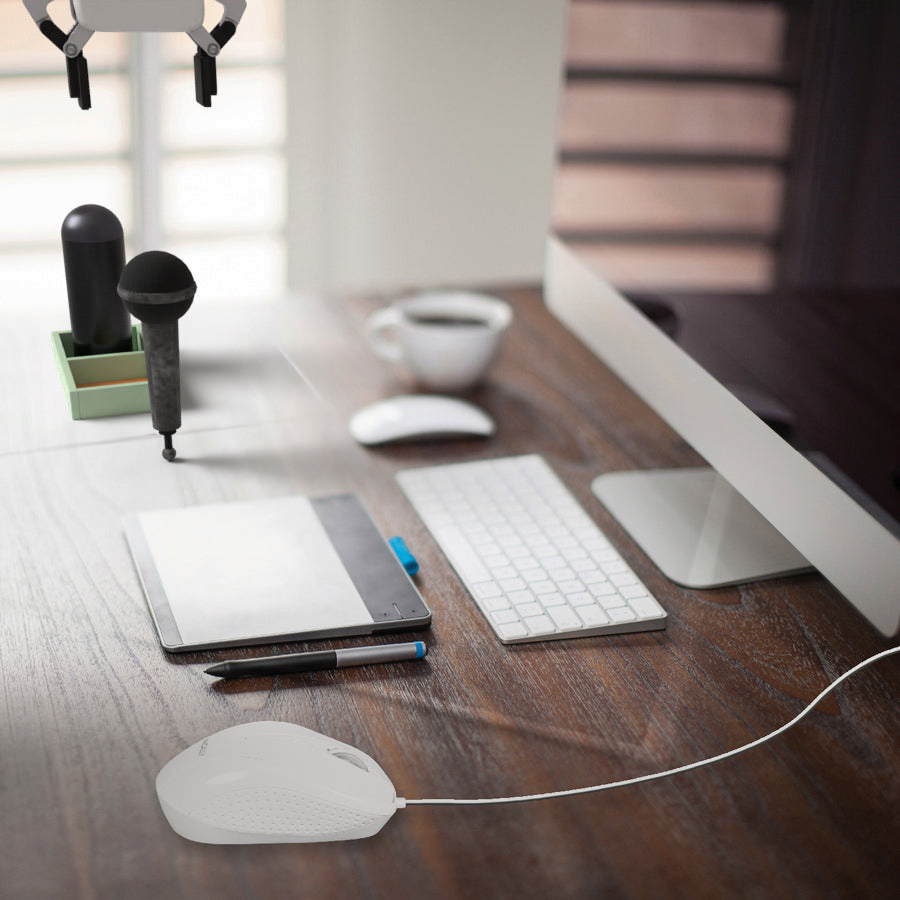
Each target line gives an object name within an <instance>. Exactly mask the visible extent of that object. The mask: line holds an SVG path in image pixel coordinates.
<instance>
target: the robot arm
mask: <svg viewBox="0 0 900 900" xmlns="http://www.w3.org/2000/svg"><path fill="white" fill-rule="evenodd" d="M21 1H22V4H23V6H24V8H25V10H26V11H27V12H28V14H29V16H30V17H31V19H32V20H33V22H34V23H35V25H36V27H37V28H38V30H39V31H40V33H41V34H42V35H43V36H44V37H45V38H46V39H48V41H50V42H51V43H52V44H53V45H54V46H55V47H56V48H57V49H59V51H61V53H63V54H64V56H65V63H66V64H65V65H66V74H67V87H68V92H69V93H68V94H69V98H70V99H77V104H78V107H79V108H80V109H81V110H82V111H89V110H90V109H92V99H91V97H92V96H91V88H90V86H91V85H90V76H89V67H88V60H87V59H88V58H86V57H85V56H84V51H83V50H84V47H85V46H86V44H88V42H89V40H91V38H92V36H93V35H94V34H95V32H97V33H98V32H99V33H185V34H186V35H187V36H188V38H189V39H190V40H191V41H192V42H193V43H194V44H195V45H196V52H195V54H194V55H193V58H192V59H193V74H194V90H195V91H194V92H195V93H194V94H195V102H196V103H198V104H199V105H200V106H202V107H203V108H212V106H213V105H212V97H215V96H218V76H217V75H218V74H217V56H219V54H220V53H221V51H222V49H223V48H224V47H225V46H226V45H227V44H228V43H229V42H230V40H231V39H232V38H233V37H234V36H235V34H236V33H237V28H238V25H239V24H240V22H241V20H242V17H243V15H244V14H245V10H246V9H247V1H246V0H214V1H215V2H217V3H219V4H220V5H221V6H222V7H223V10H224V11H223V13H222V16H221V18H220V21H219V22H217V24H216V25H215V26H214V27H213V28H212V30H211V31H210V32H209V31H208V30H207V29H206V28H205V27H204V25H203V24H204V22H205V11H206V10H205V0H68V2H69V10H70V14H71V15H70V16H71V17H72V19H73V20H74V21H75V22H74V23H73V24H72V26H70V28H69V30H68V31H67V32H66V33H65V32H64V31H63V30H62V29H61V28H60V27H59V26H57V24H55V23H54V21H53V19H52V17H51V16H50V14H49V12H48V10H47V7H48V5H49V4H50V3H52V2H54V1H55V0H21Z"/></svg>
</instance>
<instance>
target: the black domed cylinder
mask: <svg viewBox="0 0 900 900" xmlns="http://www.w3.org/2000/svg"><path fill="white" fill-rule="evenodd" d="M60 228H61V229H60V238H61V247H62V258H63V266H64V275H65V284H66V294H67V303H68V312H69V313H68V314H69V323H70V330H71V332H72V342H73V351H74V357H82V356H93V355H103V354H114V353H124V352H134V350H133V338H132V326H131V325H132V316H131V315H132V314H131V313H130V312H128V310H127V309H126V307H125V306H124V304H123V302H122V299H121V297H120V296H119V294H118V292H117V286H118V284H119V281H120V277H121V273H122V271H123V269H124V267H125V266H126V265H127V256H126V255H127V254H126V245H125V232H124V228H123V224H122V222H121V220H120V219H119V217H118V216H117V215H116V214H115V213H114V212H113V211H112V210H111V209H109V208H108V207H106V206H103V205H100V204H96V203H85V204H81V205H79V206H76V207H74V208H73V209H71V211H69V212H68V213H67V215H66V216H65V217H64V219H63V221H62V224H61V227H60Z"/></svg>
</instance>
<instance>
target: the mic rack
mask: <svg viewBox="0 0 900 900" xmlns="http://www.w3.org/2000/svg"><path fill="white" fill-rule="evenodd" d="M131 326H132V338H133V350H134V352H124V353H114V354H103V355H93V356H82V357H74V351H73V342H72V332H71V329H68V330H58V331H57V330H56V331H51V332H50V337H51V344H52V354H53V359H55V360H54V364H55V366H56V369H57V373H58V376H59V379H60V384H61V386H62V390H63V393H64V396H65V400H66V403H67V407H68V410H69V413H70V417H71V420H72V421H79V420H87V419H97V418H105V417H115V416H123V415H132V414H138V413H139V414H141V413H149V412H151V406H150V397H149V388H148V379H147V370H146V362H145V353H144V344H143V335H142V326H141V323H135V324H131Z"/></svg>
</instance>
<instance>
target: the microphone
mask: <svg viewBox="0 0 900 900" xmlns="http://www.w3.org/2000/svg"><path fill="white" fill-rule="evenodd" d="M197 289H198V285H197V282H196V281H195V278H194V276H193V274H192V271H191V270H190V268H189V267H188V265H187V264H186V263H185V262H184V261H183V260H182V259H181V258H180V257H178V256H176V255H175V254H172V253H170V252H168V251H163V250H148V251H143V252H141V253H139V254H136V255H135V256H134V257H133V258H131V259H130V260H129V261H128V262H126V266H125V267H124V269H123V271H122V273H121V277H120V281H119V284H118V286H117V292H118V294H119V296H120V297H121V299H122V302H123V304H124V306H125V307H126V309H127V310H128V312H130V314H131V315H132V316H133V317H134V318H135V319H136V320H139V321H140V324H141V326H142V335H143V344H144V353H145V362H146V370H147V379H148V388H149V397H150V406H151V411H150V413H151V423H152V428H153V430H156V431H158V435H160V436H163V440H164V441H163V442H164V447H163V448H162V451H161V456H162V458H163V459H164V460H166V461H173V460H174V459H175V458H176V456H177V450H176V449H175V448H174V447H173V436H174V435H175V434H177V433H178V432H177V430H179V429H180V428H181V427H182V401H181V400H182V398H181V397H182V396H181V365H180V364H181V363H180V361H181V360H180V332H179V331H180V330H179V319H181V318H182V317H184V316H185V315H186V314H187V312H189V310H190V309H191V307H192V305H193V303H194V301H195V300H194V299H195V296H196V294H197Z"/></svg>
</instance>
